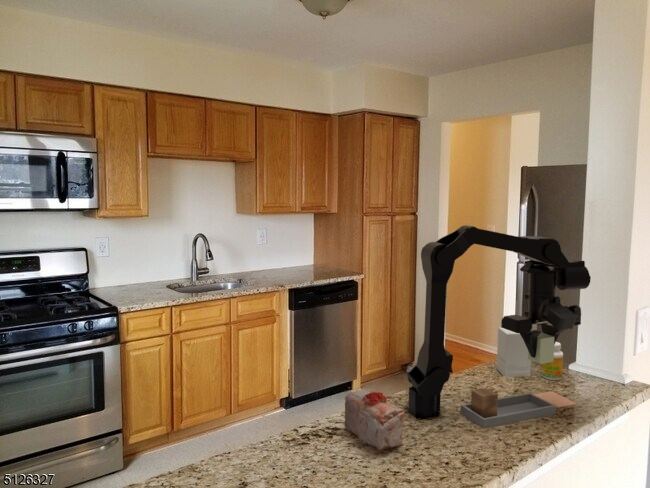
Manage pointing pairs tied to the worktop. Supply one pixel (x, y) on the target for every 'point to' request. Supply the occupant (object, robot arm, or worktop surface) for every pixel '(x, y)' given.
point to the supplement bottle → (554, 365)
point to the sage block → (544, 349)
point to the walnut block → (484, 402)
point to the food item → (374, 419)
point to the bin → (512, 410)
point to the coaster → (555, 399)
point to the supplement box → (512, 354)
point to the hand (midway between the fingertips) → (540, 356)
